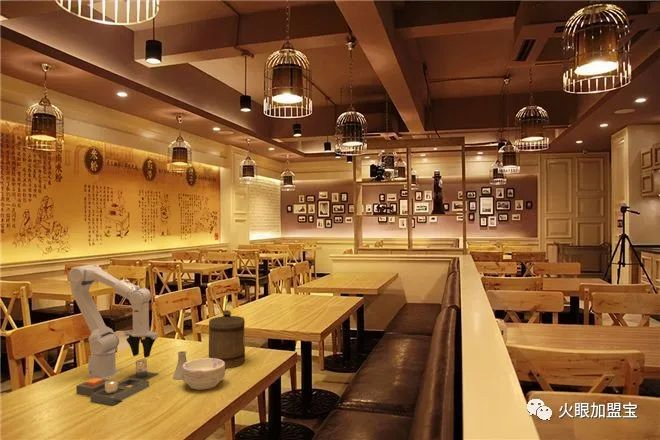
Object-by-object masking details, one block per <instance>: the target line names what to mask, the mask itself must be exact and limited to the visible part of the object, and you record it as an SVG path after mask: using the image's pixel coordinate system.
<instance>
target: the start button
mask: <svg viewBox="0 0 660 440" xmlns="http://www.w3.org/2000/svg"><path fill="white" fill-rule="evenodd" d="M103 379H104V378H103ZM103 379H99V378H94V377H92V378H91V379H88V380H86V381H85V382H86V385H89V386H96V385H98V384H101V383H103Z"/></svg>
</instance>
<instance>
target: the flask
mask: <svg viewBox="0 0 660 440" xmlns="http://www.w3.org/2000/svg"><path fill="white" fill-rule="evenodd" d="M186 355H187V350H181V351H180V350H179V351H178V352H177V358H178V359H177V365H176V366H175V371H174V373H173V376H172V380H175V381H183V380H182V366H183V364H184V363H186V362H188V361H187V356H186Z"/></svg>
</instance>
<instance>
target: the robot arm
mask: <svg viewBox="0 0 660 440" xmlns="http://www.w3.org/2000/svg"><path fill="white" fill-rule="evenodd" d="M67 278H68V281H69V283H70V289H71V290H70V291H71V294H72V296H73V299H74V301H75V303H76V305H77V306H78V308H79V311H80V313H81V314H82V316H83V319H84V321H85V323H86V325H87V327H88V330H89V331H90V335H89V336H88V339H87V340H88V342H89V348H90V349H89V350H90V351H91V353H90V355H89V357H88V363H87V365H88V366H87V367H88V375H86V377H88V378H100V379H107V380H108V378H110V377H113V376H116V375H118V374H121V371H116V369H117V367H116V365H117V364H116V350H117V347H118V346H119V344H120V338H119V335H117V333H115V332H114V330H113V329H112V328H110V327H109V326H107V325H106V323H105V322H104V319H103V317H102V315H101V313H100V311H99V309H98V307H97V305H96V303H95V301H94V298H93V297H92V294H91V293H90V288H91V286H92V285H93V284H94V282H96V281H98V282H99V283H102V284H104V285H106V286H109V287H110V288H113V289H114V292H115V293H116V294H117V295H119V296H121V297H123V298H125V299H127V300H128V302H129V304H130V305H131V310H132V329H127V330H124V337H127V338H126V339H125V340H126V342H127V343H128V345H129V347H130V349H131V352H132V356H133V357H136V356H139V354H140V342H141V344H142V350H143V356H144V359H146V358H148V357H150V356H151V351H152V349H153V345H154V343H155V342H156V340H157V339H159V333H158V332H154V331H151V330H150V313H149V312H150V307H149V305H150V301H151V299H152V297H153V295H152V292H151V290H150V289H148V287H140V285H136V284H133V283H132V282H130V280H129V279H121V280H119V279H118V278H116V277H114V276H113V275H111V274H110V273H108V272H106V271H105V270H103V269H102V268H101V267H100V266H98V265H96V264H93V263H90V264H87V265H86V264H85V265H81V266H80V265H79V266H74V267H71V268H70V271H69V273H68V275H67ZM141 338H142V339H141Z"/></svg>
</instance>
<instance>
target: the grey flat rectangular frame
mask: <svg viewBox="0 0 660 440" xmlns="http://www.w3.org/2000/svg"><path fill="white" fill-rule="evenodd" d="M125 378H126V379H124V378H123V379H121V380H118V393H117V394H115V395H113V396H107V395H105V388H103V389H101V390H99V391H96V392H94V393H92V394H91V397H90V402H92V403H97V404H103V405H107V406H111V407H112V406H116V405H118V404H120V403H121V402H123V400H124V399H125V400H126V399H127V398H129V397H131V396H133V395H135V394H137V393H138V392H141V391H144V390H146V389H147V388H149V387H150V380H139V379H133V378H127V377H125ZM128 386H129V387H128Z"/></svg>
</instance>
